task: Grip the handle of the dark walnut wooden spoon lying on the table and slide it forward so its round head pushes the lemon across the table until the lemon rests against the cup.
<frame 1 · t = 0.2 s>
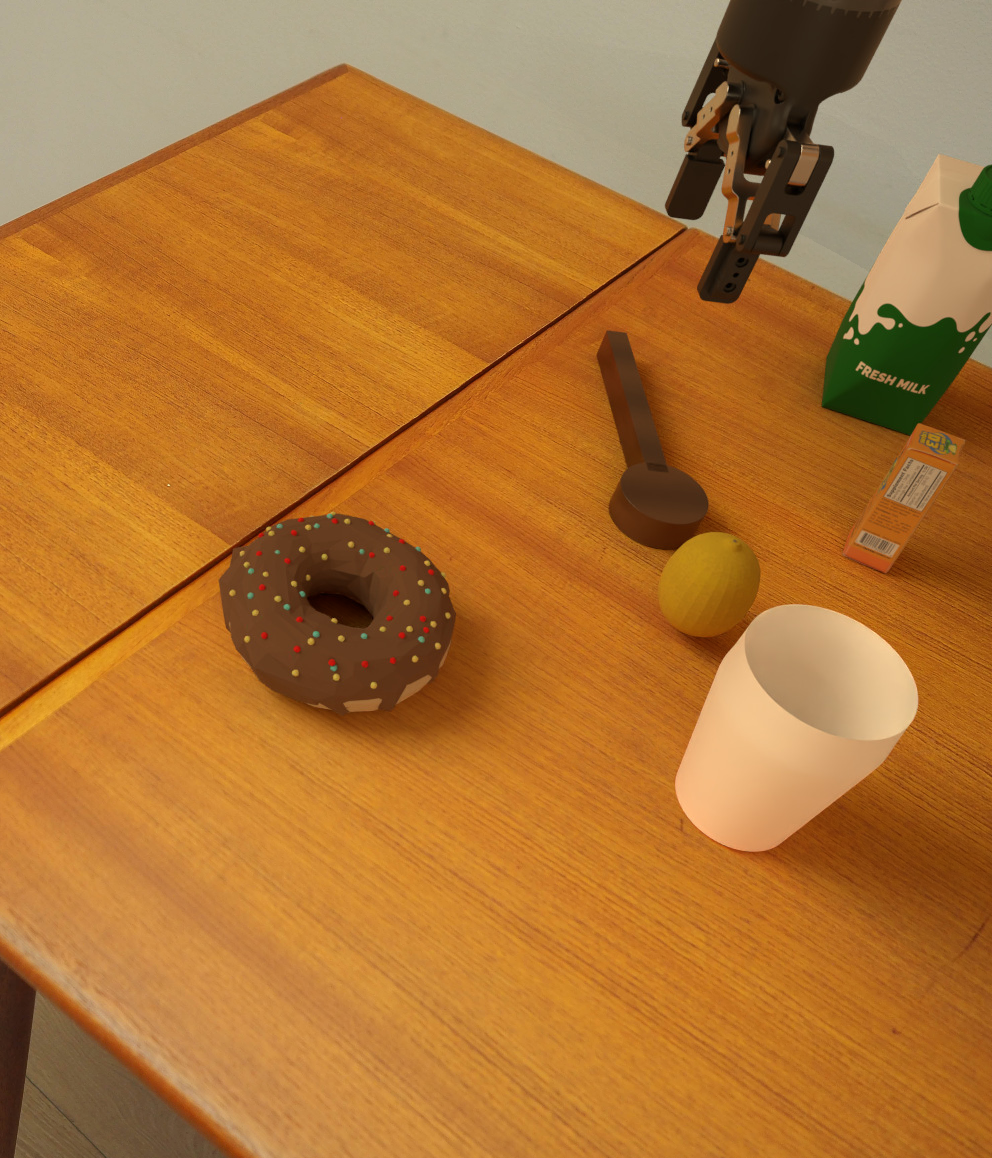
hand: (697, 255, 75), 20 cm above the table, tool pointing down, fingers open, 8 cm apart
donut: (325, 641, 79), on the table
lemon: (681, 630, 83), on the table
cup: (730, 803, 74), on the table
wooden spoon: (632, 450, 95), on the table
milk carton: (866, 397, 103), on the table
supplement box: (864, 553, 90), on the table
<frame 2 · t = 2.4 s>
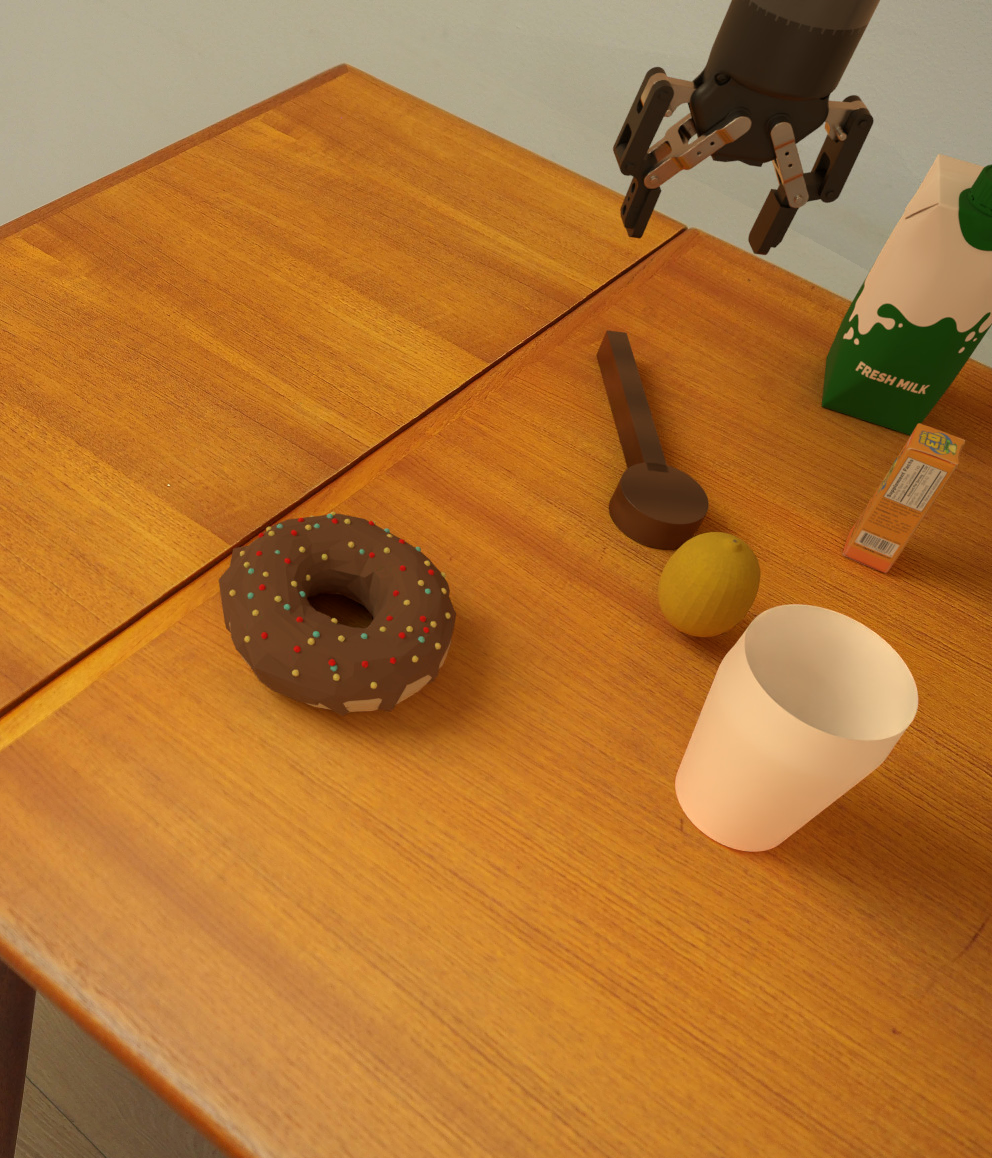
hand: (694, 240, 86), 15 cm above the table, tool pointing down, fingers open, 8 cm apart
nothing on the table moved.
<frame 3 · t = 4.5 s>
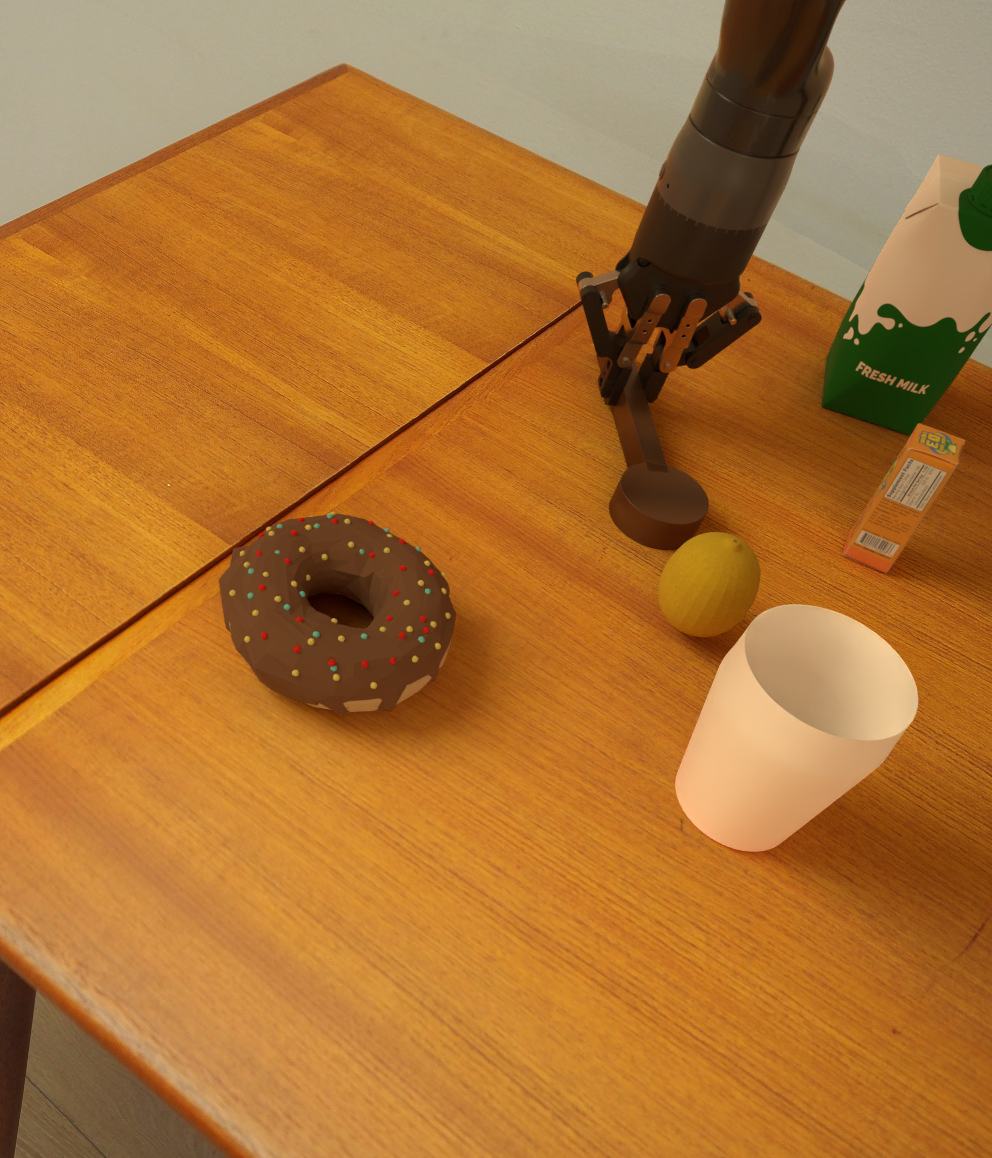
hand: (622, 400, 98), 1 cm above the table, tool pointing down, fingers closed on wooden spoon, 1 cm apart
wooden spoon: (632, 450, 95), on the table, touching gripper
everything else where it was.
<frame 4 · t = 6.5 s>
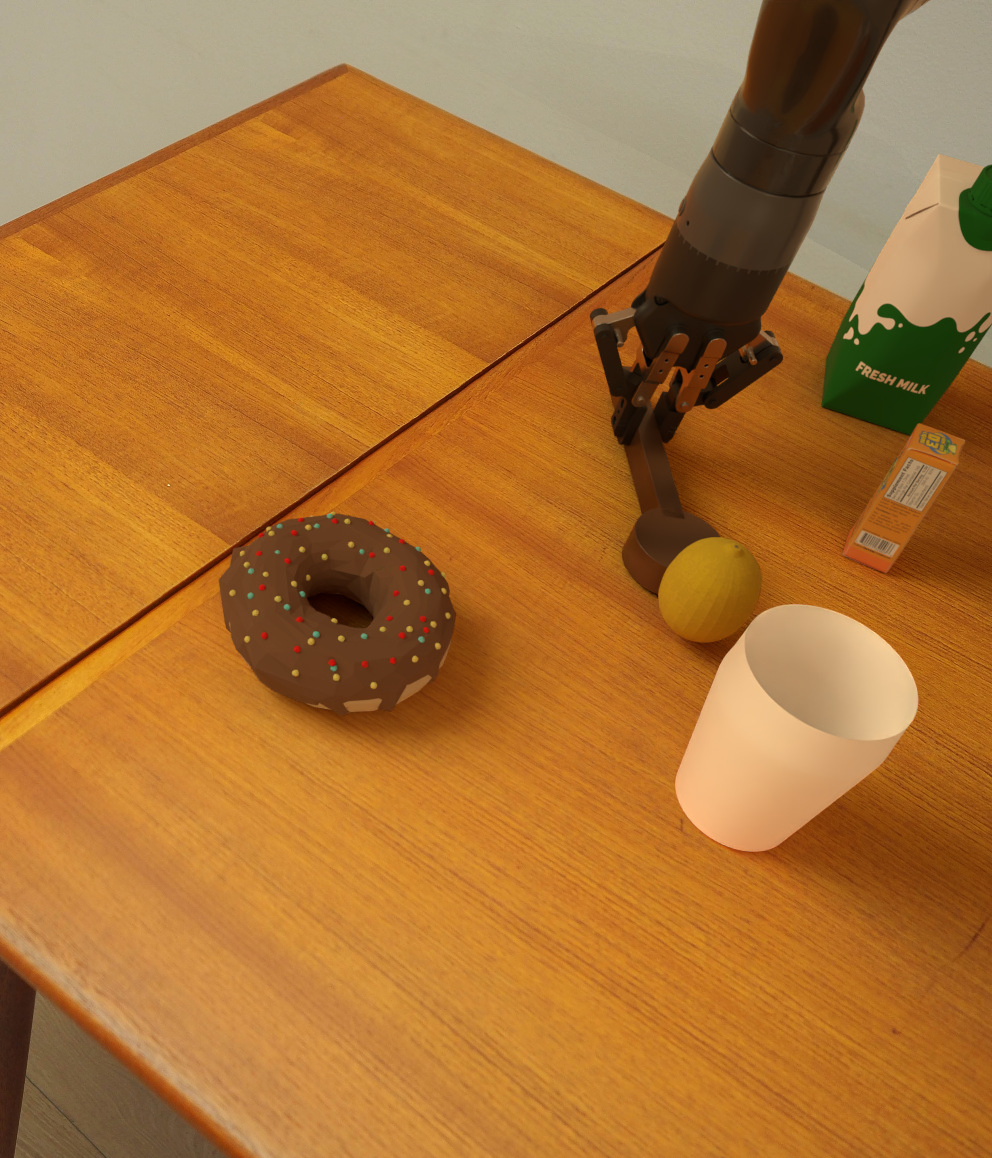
hand: (636, 439, 94), 1 cm above the table, tool pointing down, fingers closed, pressing on wooden spoon
lemon: (682, 635, 83), on the table, touching wooden spoon
wooden spoon: (646, 492, 91), on the table, touching gripper, lemon
everything else where it was.
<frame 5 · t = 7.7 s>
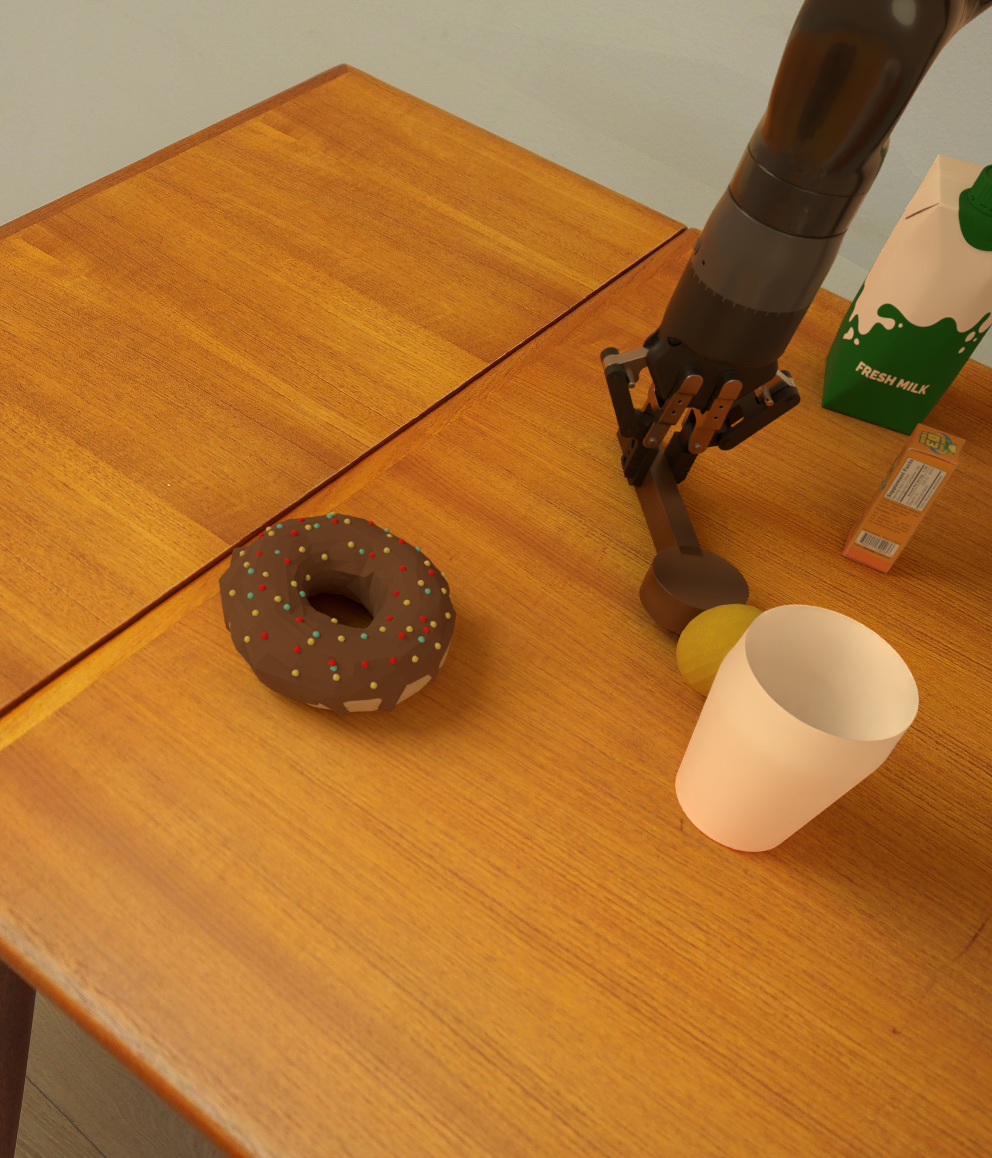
hand: (647, 479, 91), 1 cm above the table, tool pointing down, fingers closed on wooden spoon, 1 cm apart
lemon: (697, 667, 80), on the table, touching cup, wooden spoon
cup: (730, 803, 74), on the table, touching lemon
wooden spoon: (660, 533, 88), point 1 cm above the table, touching gripper, lemon
everything else where it was.
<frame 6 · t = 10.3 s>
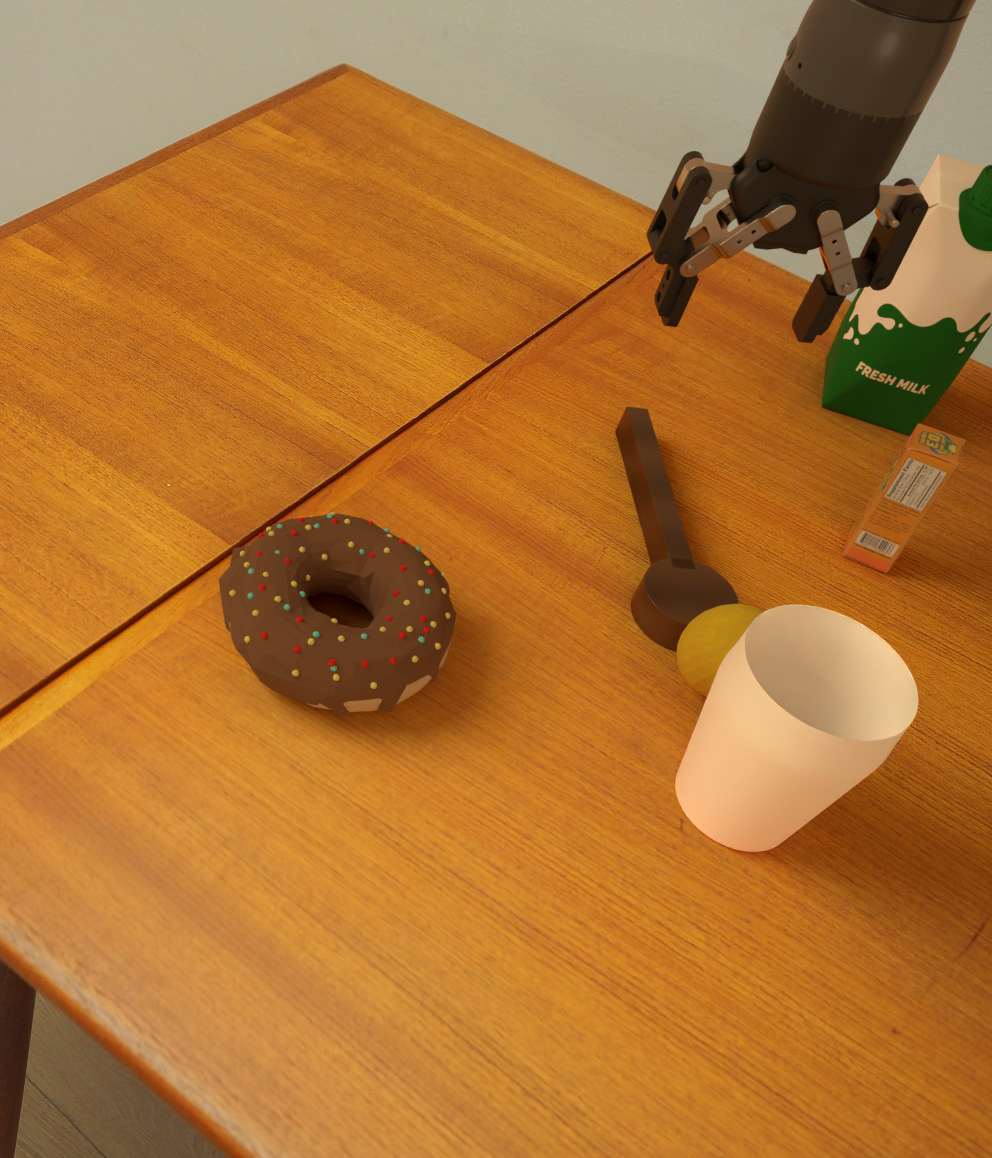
hand: (734, 327, 81), 14 cm above the table, tool pointing down, fingers open, 8 cm apart
lemon: (697, 668, 80), on the table, touching cup
wooden spoon: (655, 539, 88), on the table
everything else where it was.
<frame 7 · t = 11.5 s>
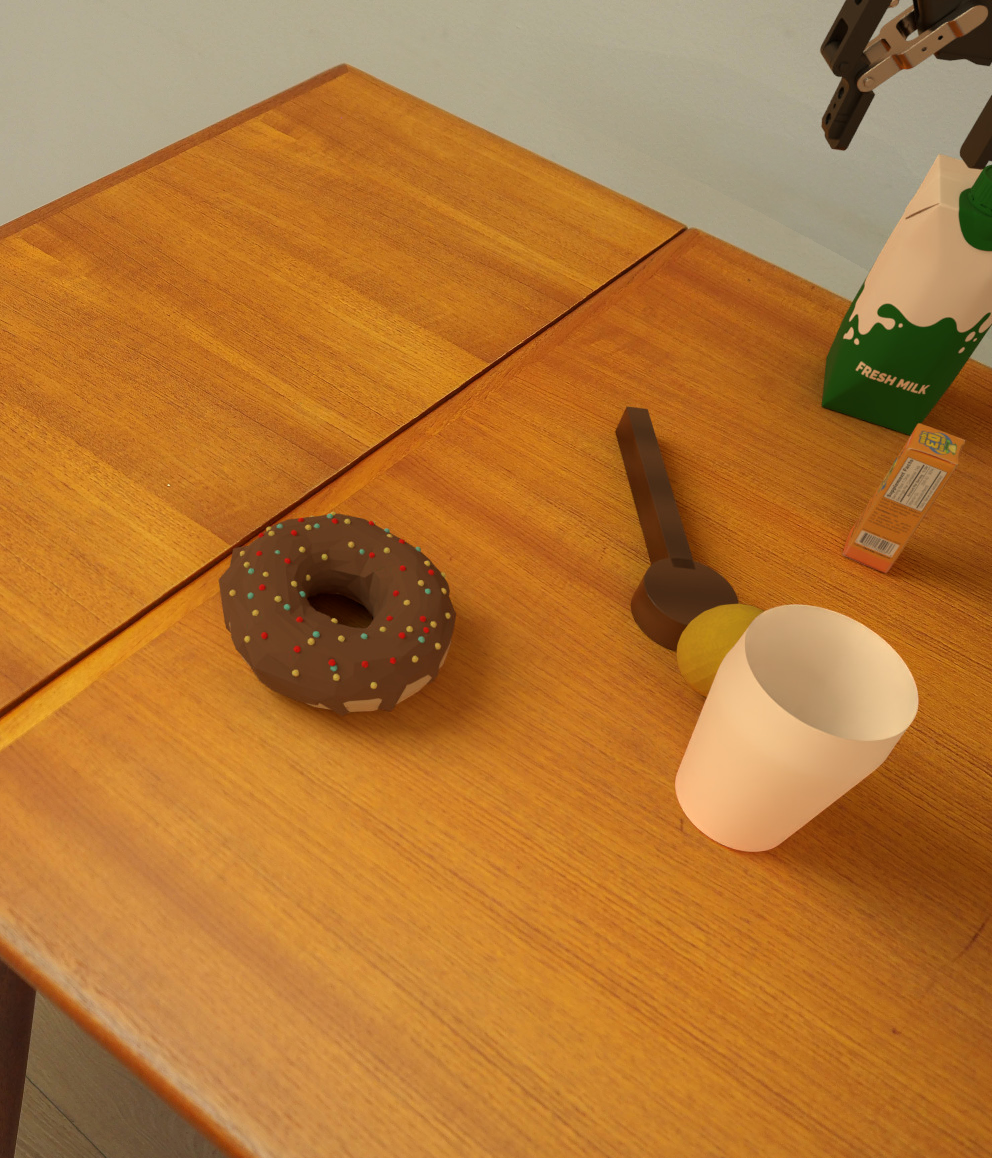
hand: (902, 153, 78), 24 cm above the table, tool pointing down, fingers open, 8 cm apart
nothing on the table moved.
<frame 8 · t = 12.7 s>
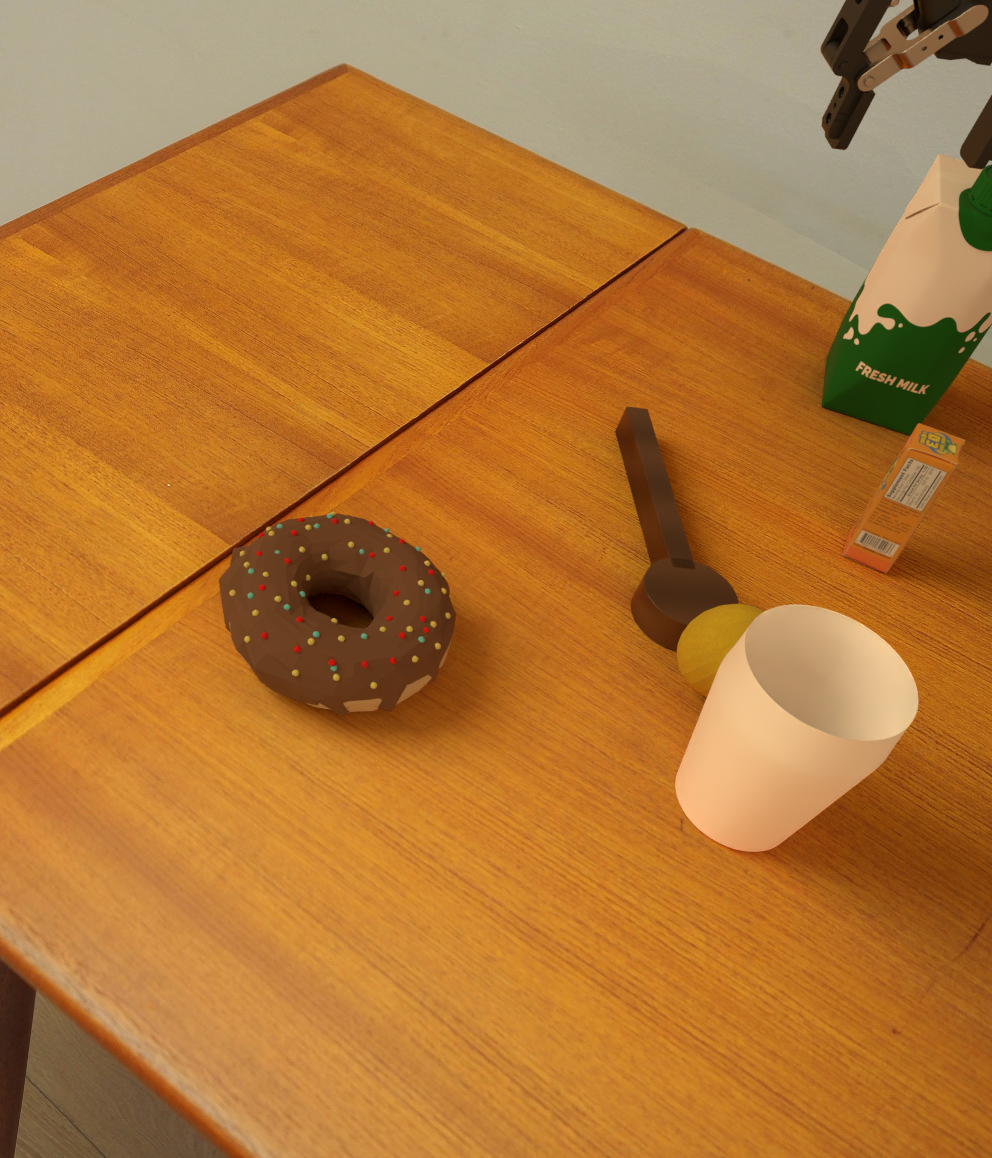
hand: (902, 153, 78), 24 cm above the table, tool pointing down, fingers open, 8 cm apart
nothing on the table moved.
at the end: lemon 9.4 cm from the cup (horizontally); lemon moved 3.7 cm from its start; the gripper is holding nothing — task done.
